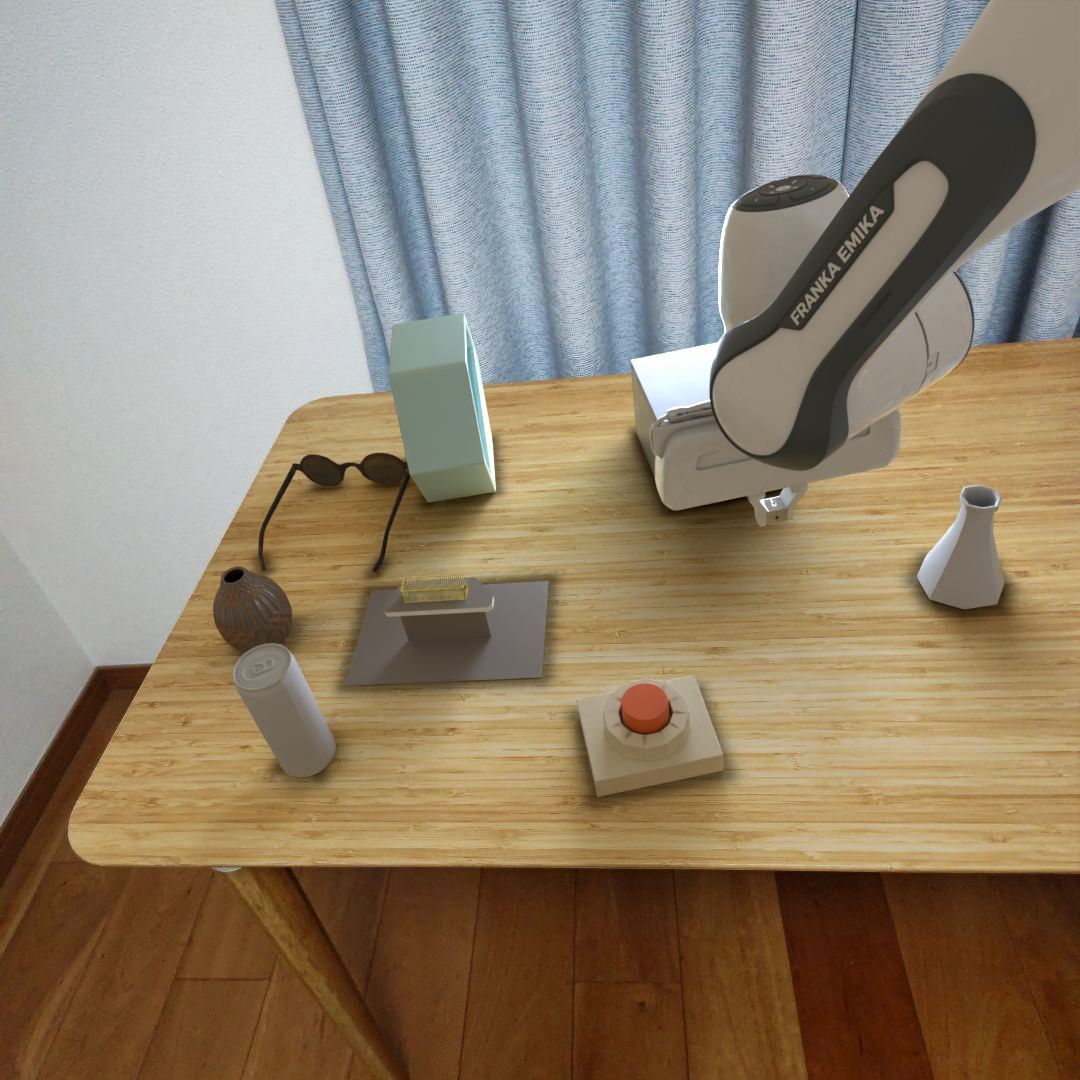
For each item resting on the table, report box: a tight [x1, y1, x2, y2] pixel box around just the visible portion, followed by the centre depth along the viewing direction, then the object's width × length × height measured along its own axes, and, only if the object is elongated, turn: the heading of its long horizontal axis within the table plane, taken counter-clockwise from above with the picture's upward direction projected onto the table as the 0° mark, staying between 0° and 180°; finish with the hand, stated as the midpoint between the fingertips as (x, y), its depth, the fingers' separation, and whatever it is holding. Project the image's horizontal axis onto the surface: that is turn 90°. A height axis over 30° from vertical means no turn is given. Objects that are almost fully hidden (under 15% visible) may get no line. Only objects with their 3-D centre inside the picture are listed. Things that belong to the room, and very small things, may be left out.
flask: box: [916, 484, 1005, 610], centre depth 77 cm, size 7×7×10 cm
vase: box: [212, 565, 293, 654], centre depth 84 cm, size 7×7×9 cm
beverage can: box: [232, 643, 337, 778], centre depth 72 cm, size 5×5×12 cm
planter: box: [388, 312, 497, 503], centre depth 97 cm, size 17×8×21 cm
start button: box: [621, 683, 669, 734], centre depth 69 cm, size 4×4×2 cm
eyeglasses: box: [257, 452, 411, 573], centre depth 97 cm, size 15×15×5 cm
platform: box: [345, 573, 550, 687], centre depth 82 cm, size 12×18×7 cm, turn 87°
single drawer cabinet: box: [629, 341, 719, 511], centre depth 95 cm, size 15×13×10 cm
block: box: [575, 674, 724, 798], centre depth 71 cm, size 10×8×4 cm
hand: (773, 519), depth 80 cm, fingers closed
